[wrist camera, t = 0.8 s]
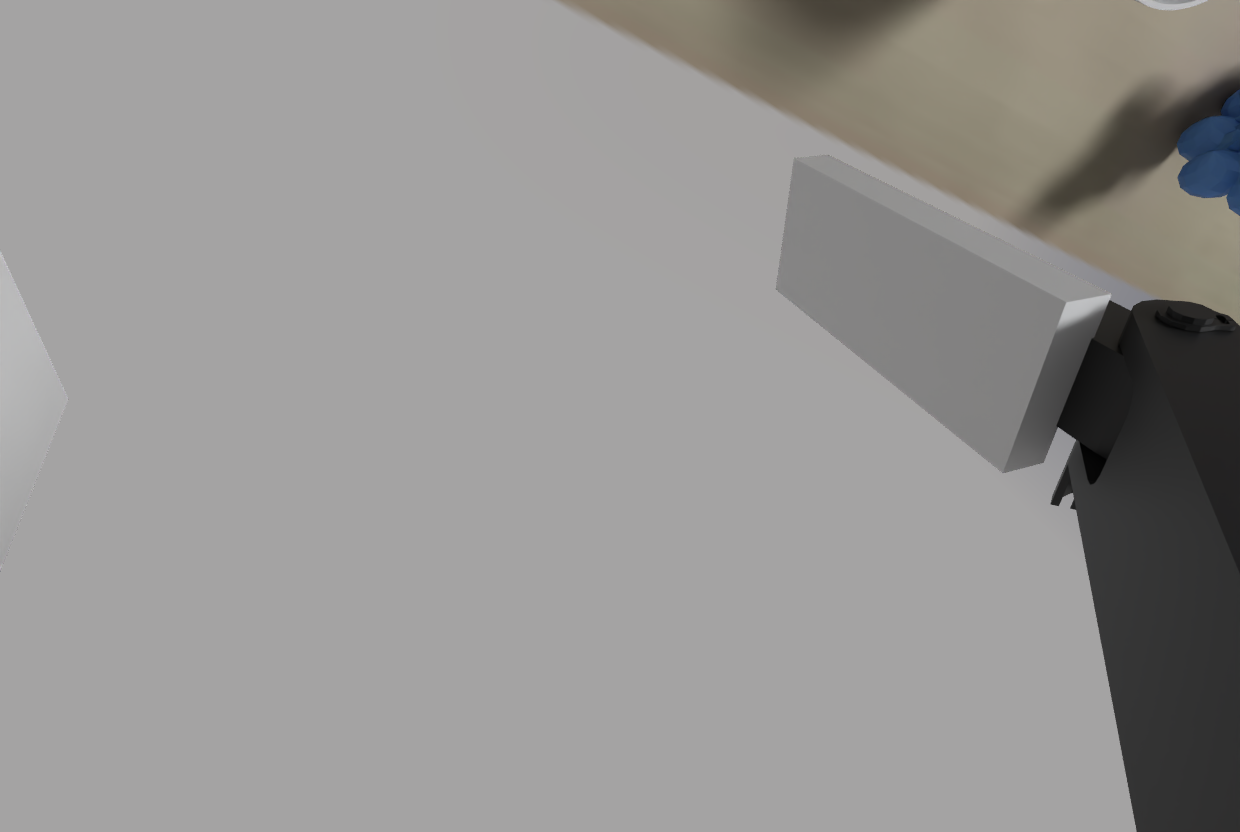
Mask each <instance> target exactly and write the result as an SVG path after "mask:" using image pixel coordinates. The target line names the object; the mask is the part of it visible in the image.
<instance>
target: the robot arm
mask: <svg viewBox="0 0 1240 832" xmlns="http://www.w3.org/2000/svg"><path fill="white" fill-rule="evenodd" d="M776 290H777V291H778V292H780V293H781V294H782V295H783V296H785V297H786V298H787V299H788V300H789V301H791V302H792V303H793V304H795V305H796V306H797V307H798V308H799V309H801V310H802V311H803V312H804V313H806V314H807V315H808V316H809V317H810V318H812V319H813V320H814V321H815V322H817V323H818V324H819V325H820V326H822V327H823V328H824V329H825V330H827V331H828V332H829V333H830V334H831V335H833V336H834V337H836V339H838V340H839V341H840V342H841V343H843V344H844V345H845V346H846V347H848V348H849V349H850V350H851V351H852V352H854V353H855V354H856V355H857V356H859V357H860V358H861V359H862V360H864V361H865V362H866V363H867V364H869V365H870V366H871V367H872V368H874V369H875V370H876V371H877V372H878V373H880V374H881V375H882V376H883V377H885V378H886V379H887V380H888V381H890V382H891V383H892V384H893V385H895V386H896V387H897V388H898V389H900V390H901V391H902V392H903V393H904V394H906V395H907V396H908V397H909V398H911V399H912V400H913V401H914V402H915V403H917V404H918V405H919V406H921V407H922V408H923V409H924V410H925V411H927V412H928V413H929V414H930V415H932V416H933V417H934V418H935V419H936V420H938V421H939V422H940V423H942V424H943V425H944V426H945V427H946V428H948V429H949V430H950V431H951V432H953V433H954V434H955V435H956V436H957V437H959V438H960V439H961V440H962V441H964V442H965V443H966V444H967V445H969V446H970V447H971V448H972V449H974V450H975V451H976V452H978V454H980V455H981V456H982V457H983V458H985V459H986V460H987V461H988V462H990V463H991V464H992V465H993V466H995V467H996V468H997V469H998V470H999V471H1001V472H1002V473H1006V472H1009V471H1013V470H1017V469H1020V468H1025V467H1029V466H1033V465H1036V464H1040V463H1043V462H1044V460H1045V458H1046V455H1047V453H1048V450H1049V448H1050V445H1051V443H1052V440H1053V438H1054V435H1055V433H1056V430H1057V428H1058V427H1059V428H1060V429H1062V430H1063V431H1065V432H1066V433H1067V434H1069V435H1071V436H1072V437H1074V438H1075V439H1076V442H1075V444H1074V446H1073V449H1072V451H1071V453H1070V456H1069V458H1068V461H1067V463H1066V465H1065V468H1064V470H1063V472H1062V475H1061V477H1060V479H1059V482H1058V484H1057V486H1056V489H1055V491H1054V494H1053V496H1052V500H1051V504H1052V505H1056V506H1059V504H1060V502H1061V500H1062V497H1064V496H1066V495H1068V494H1070V493H1073V495H1074V501H1073V503H1072V505H1071V509H1075V510H1076V511H1077V516H1078V521H1079V527H1080V532H1081V537H1082V542H1083V548H1084V553H1085V559H1086V564H1087V569H1088V575H1089V580H1090V585H1091V591H1092V595H1093V601H1094V607H1095V612H1096V617H1097V622H1098V627H1099V633H1100V639H1101V644H1102V648H1103V654H1104V659H1105V665H1106V670H1107V676H1108V681H1109V686H1110V692H1111V697H1112V702H1113V708H1114V713H1115V718H1116V724H1117V728H1118V734H1119V740H1120V745H1121V750H1122V756H1123V761H1124V766H1125V771H1126V777H1127V782H1128V787H1129V793H1130V798H1131V803H1132V809H1133V814H1134V819H1135V825H1136V830H1137V832H1240V326H1239V325H1238V324H1237V323H1236V322H1235V321H1234V320H1233V319H1232V318H1231V317H1229V316H1228V315H1225V314H1220V313H1218V312H1216V311H1213V310H1212V309H1210V308H1207V307H1205V306H1203V305H1200V304H1196V303H1192V302H1185V301H1169V300H1149V301H1142V302H1140V303H1138V304H1136V305H1134V306H1133V308H1132V310H1131V311H1130V310H1128V309H1126V308H1124V307H1122V306H1120V305H1118V304H1116V303H1114V302H1112V301H1110V297H1111V293H1109V292H1107V291H1105V290H1103V289H1101V288H1099V287H1097V286H1095V285H1092V284H1090V283H1088V282H1086V281H1084V280H1082V279H1080V278H1078V277H1076V276H1074V275H1072V274H1070V273H1068V272H1066V271H1064V270H1062V269H1060V268H1058V267H1056V266H1054V265H1052V264H1050V263H1048V262H1046V261H1044V260H1042V259H1039V258H1037V257H1035V256H1033V255H1031V254H1029V253H1027V252H1025V251H1023V250H1021V249H1019V248H1017V247H1015V246H1013V245H1011V244H1009V243H1007V242H1005V241H1003V240H1001V239H999V238H997V237H995V236H993V235H991V234H989V233H986V232H985V231H982V230H980V229H978V228H976V227H974V226H972V225H970V224H968V223H966V222H964V221H962V220H960V219H958V218H956V217H954V216H952V215H950V214H948V213H946V212H944V211H942V210H940V209H938V208H935V207H933V206H932V205H929V204H927V203H925V202H923V201H921V200H919V199H917V198H915V197H913V196H911V195H909V194H907V193H905V192H903V191H901V190H899V189H897V188H895V187H893V186H891V185H889V184H887V183H885V182H882V181H881V180H879V179H876V178H874V177H872V176H870V175H868V174H866V173H864V172H862V171H860V170H858V169H856V168H854V167H852V166H850V165H848V164H846V163H844V162H842V161H840V160H838V159H836V158H834V157H832V156H830V155H821V156H811V157H801V158H794V162H793V169H792V177H791V184H790V191H789V198H788V205H787V213H786V221H785V227H784V235H783V242H782V249H781V257H780V264H779V270H778V278H777V285H776ZM67 401H68V397H67V395H66V393H65V391H64V389H63V386H62V384H61V382H60V380H59V377H58V375H57V373H56V371H55V369H54V367H53V364H52V362H51V360H50V358H49V356H48V354H47V351H46V349H45V347H44V345H43V343H42V340H41V338H40V336H39V334H38V332H37V330H36V327H35V325H34V323H33V321H32V319H31V317H30V315H29V312H28V310H27V308H26V306H25V304H24V301H23V299H22V297H21V295H20V293H19V291H18V288H17V286H16V284H15V282H14V280H13V278H12V275H11V273H10V271H9V269H8V267H7V264H6V263H5V260H4V258H3V256H2V254H1V251H0V571H1V569H2V566H3V564H4V561H5V558H6V556H7V553H8V551H9V548H10V546H11V543H12V541H13V538H14V536H15V533H16V531H17V528H18V526H19V523H20V521H21V518H22V515H23V513H24V510H25V508H26V505H27V503H28V500H29V498H30V495H31V492H32V490H33V488H34V485H35V482H36V480H37V477H38V475H39V472H40V470H41V467H42V465H43V462H44V460H45V457H46V455H47V452H48V450H49V447H50V444H51V442H52V439H53V437H54V434H55V432H56V429H57V427H58V424H59V422H60V419H61V417H62V414H63V412H64V409H65V407H66V404H67Z"/></svg>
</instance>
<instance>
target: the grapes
mask: <svg viewBox="0 0 1240 832" xmlns="http://www.w3.org/2000/svg"><path fill="white" fill-rule="evenodd" d="M1221 114H1222V116H1211V117H1207V118H1204V119H1202V120H1200V121H1198V122H1196V123H1194V124H1192V125H1191V126H1190V127H1189V128H1188V129H1186V130H1185V131H1184V132H1183V133H1182V134H1181V136H1180V138H1179V140H1178V142H1177V147H1178V151H1179V154H1180V155H1181V156H1183V157H1184V158H1186V159H1187V160H1188V161H1189V162H1188V163H1186V164H1185V165H1184V166H1183V167H1182V169H1181V171H1180V173H1179V175H1178V181H1179V184H1180V188H1182V189H1183V190H1184V191H1186V192H1187V193H1188V194H1190V195H1193V196H1197V197H1201V198H1215V197H1222V196H1225V195H1227V197H1226V198H1227V202H1228V205H1229V209H1231V210H1232V211H1234V212H1235V213H1236V214H1238V215H1239V216H1240V90H1238V91H1237V92H1235V93H1234V94H1233V95H1232V96H1230V97H1229V98H1228V99H1227V100H1226V102H1225V104H1224V105H1223V107H1222V109H1221Z"/></svg>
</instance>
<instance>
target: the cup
mask: <svg viewBox="0 0 1240 832" xmlns="http://www.w3.org/2000/svg"><path fill="white" fill-rule="evenodd" d="M1135 1H1137V2H1140V3H1142V4H1144V5H1146V6H1149V7H1151V8H1155V9H1160V10H1178V9H1184V8H1188V7H1192V6H1195V5H1198V4H1201V3H1203V2H1205V1H1208V0H1135Z"/></svg>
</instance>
